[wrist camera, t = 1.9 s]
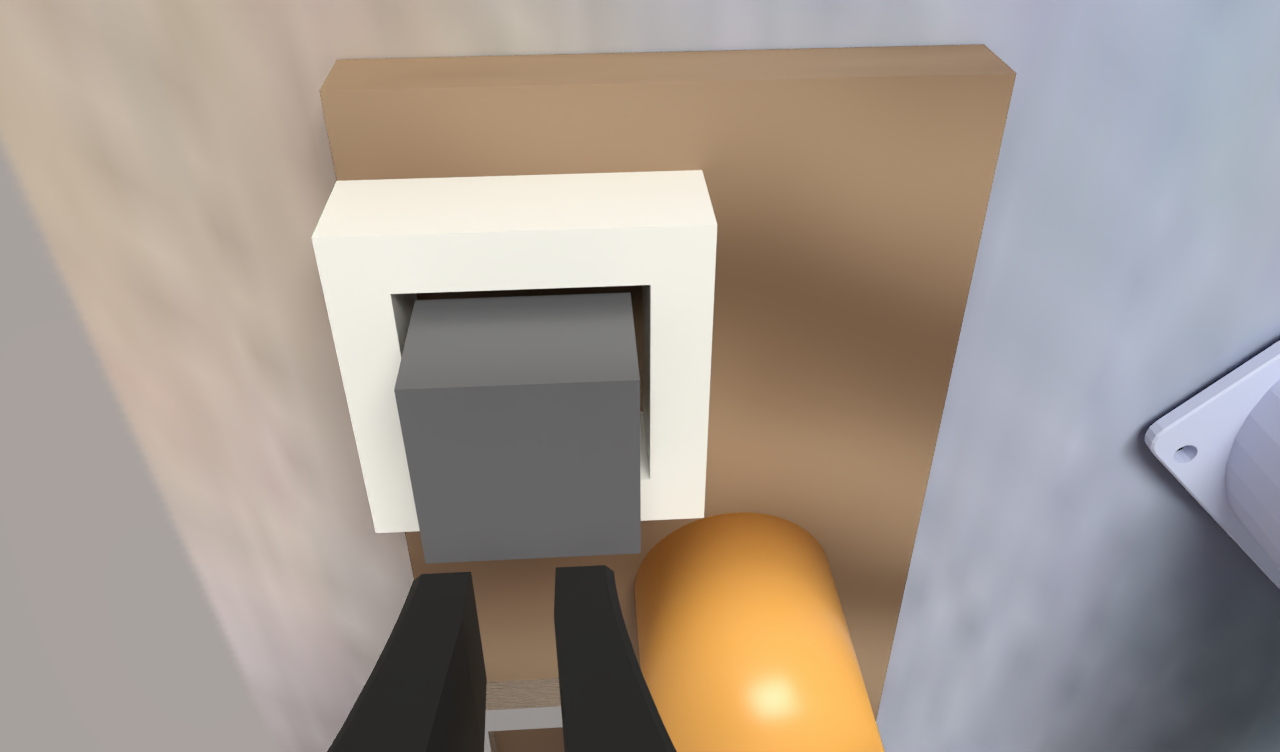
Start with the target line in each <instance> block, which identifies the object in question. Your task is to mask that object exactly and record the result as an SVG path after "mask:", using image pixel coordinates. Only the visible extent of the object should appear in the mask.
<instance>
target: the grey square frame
mask: <svg viewBox="0 0 1280 752" xmlns="http://www.w3.org/2000/svg"><path fill="white" fill-rule="evenodd" d="M557 727H563V725H562V713H561V700H560V688H559V678H552V679H534V680H515V681H497V682H487V685H486V715H485V740H484V752H497V747H496V740H495V733H494V731H505V730H522V729H540V728H557Z"/></svg>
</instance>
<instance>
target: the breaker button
mask: <svg viewBox="0 0 1280 752" xmlns="http://www.w3.org/2000/svg"><path fill="white" fill-rule="evenodd" d="M394 392H395V397H396V403H397V408H398V414H399V419H400V425H401V430H402V436H403V441H404V447H405V452H406V458H407V463H408V469H409V474H410V480H411V485H412V491H413V496H414V502H415V507H416V513H417V518H418V524H419V529H420V535H421V540H422V546H423V551H424V557H425V562H426V564H430V563H451V562H471V561H492V560H513V559H533V558H554V557H575V556H595V555H616V554H637V553H641V498H640V376H639V367H638V357H637V348H636V339H635V330H634V320H633V311H632V302H631V293H630V292H629V293H601V294H572V295H544V296H516V297H488V298H460V299H431V300H415V303H414V307H413V311H412V315H411V320H410V324H409V328H408V333H407V337H406V341H405V345H404V350H403V354H402V358H401V362H400V367H399V371H398V375H397V380H396V384H395V388H394Z"/></svg>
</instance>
